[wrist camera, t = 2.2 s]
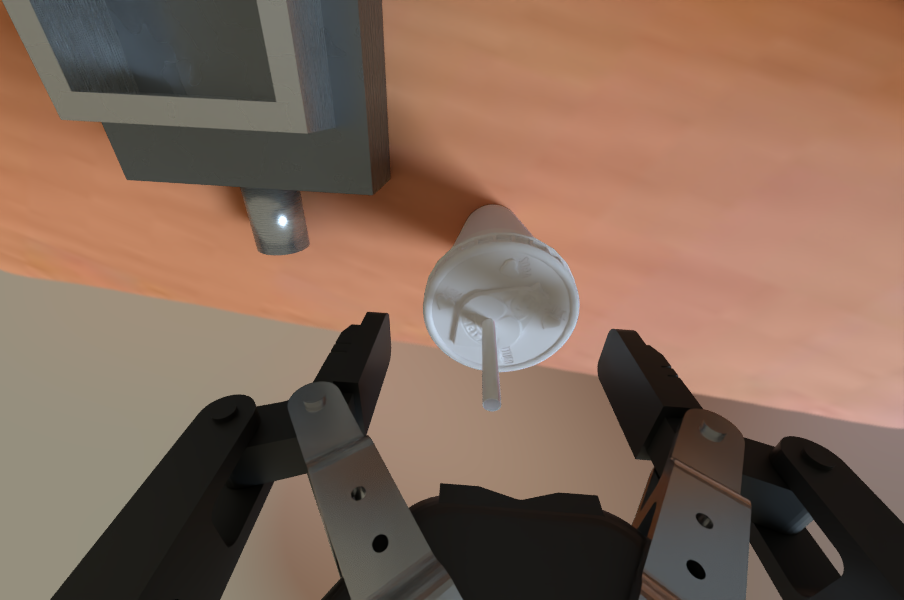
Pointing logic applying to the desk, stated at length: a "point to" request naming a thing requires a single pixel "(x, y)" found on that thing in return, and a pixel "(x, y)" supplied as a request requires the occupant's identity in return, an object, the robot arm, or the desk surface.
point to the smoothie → (499, 299)
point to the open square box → (225, 94)
